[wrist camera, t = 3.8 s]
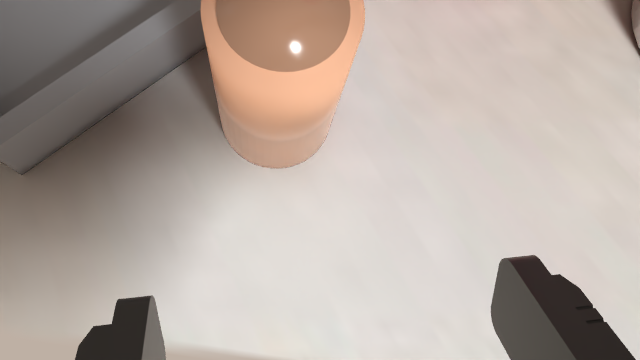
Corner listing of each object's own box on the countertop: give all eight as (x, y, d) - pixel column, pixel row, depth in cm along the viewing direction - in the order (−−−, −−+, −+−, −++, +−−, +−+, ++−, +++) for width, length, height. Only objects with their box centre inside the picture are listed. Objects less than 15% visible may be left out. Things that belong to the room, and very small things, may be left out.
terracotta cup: (283, 45, 30) (294, -91, 20) (352, 124, 29) (398, 22, 19) (198, 107, 29) (165, -7, 19) (268, 190, 28) (272, 118, 18)
